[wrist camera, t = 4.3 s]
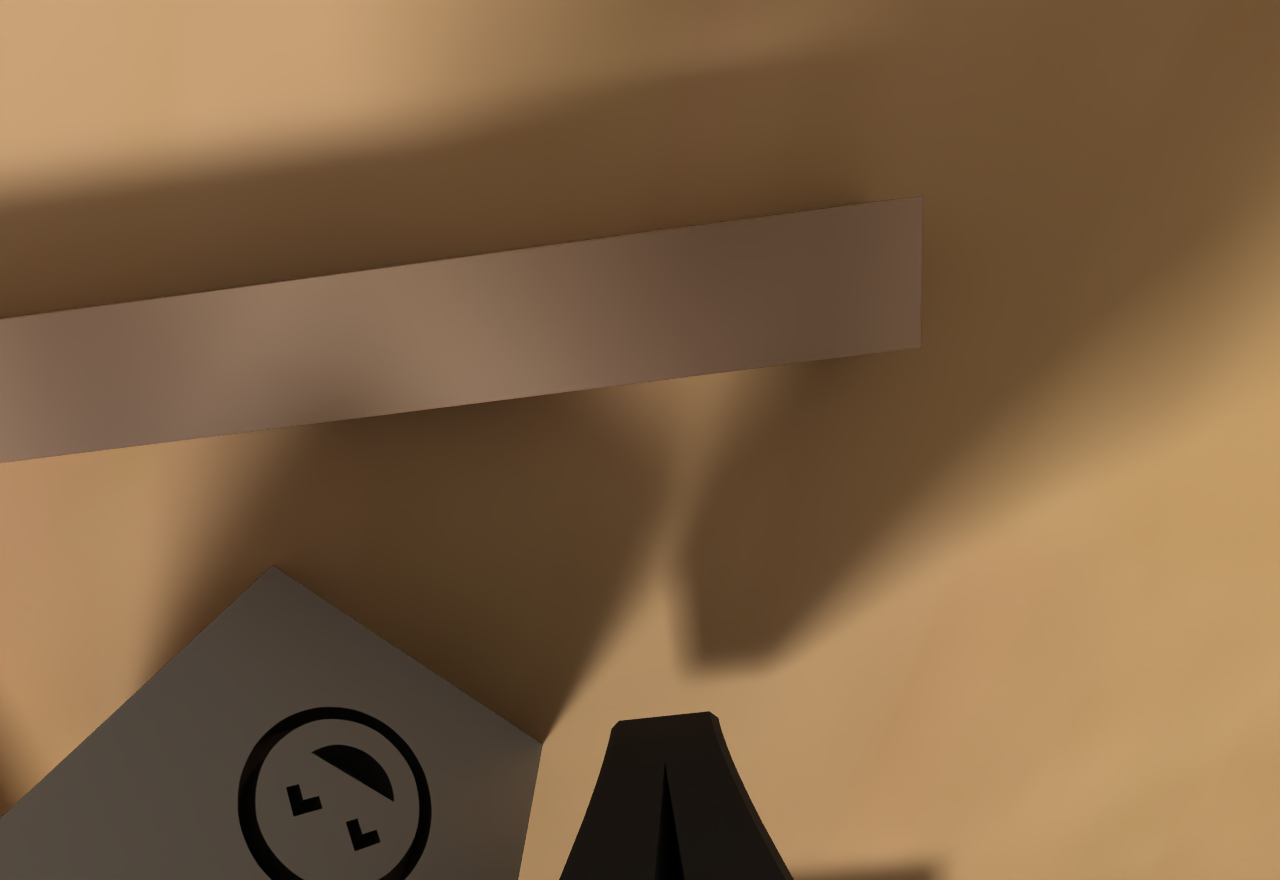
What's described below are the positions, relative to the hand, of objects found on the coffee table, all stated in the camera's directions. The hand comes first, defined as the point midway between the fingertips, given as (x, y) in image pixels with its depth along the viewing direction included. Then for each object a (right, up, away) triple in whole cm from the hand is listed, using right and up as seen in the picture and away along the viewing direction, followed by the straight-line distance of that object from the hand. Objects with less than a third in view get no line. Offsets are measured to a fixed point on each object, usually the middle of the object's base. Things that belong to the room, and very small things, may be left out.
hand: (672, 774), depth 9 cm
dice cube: (-6, -1, +2) cm, 6 cm away
